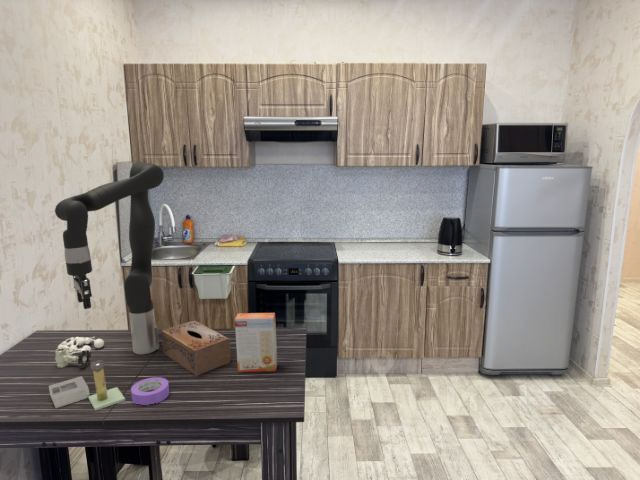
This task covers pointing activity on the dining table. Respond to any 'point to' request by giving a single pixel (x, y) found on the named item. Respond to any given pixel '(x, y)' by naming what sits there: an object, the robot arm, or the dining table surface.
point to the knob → (99, 379)
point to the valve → (71, 358)
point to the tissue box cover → (196, 347)
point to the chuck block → (69, 391)
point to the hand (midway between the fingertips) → (84, 305)
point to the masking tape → (154, 396)
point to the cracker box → (256, 342)
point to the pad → (113, 398)
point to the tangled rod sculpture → (79, 342)
